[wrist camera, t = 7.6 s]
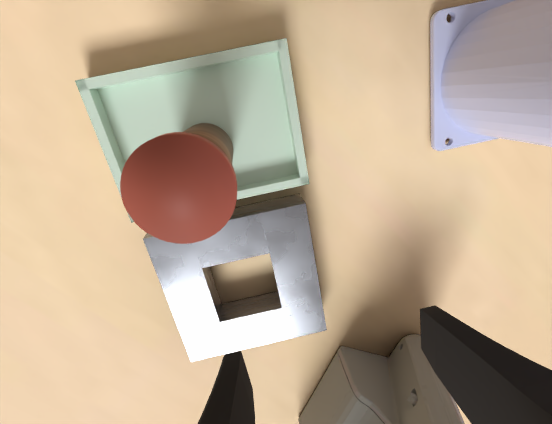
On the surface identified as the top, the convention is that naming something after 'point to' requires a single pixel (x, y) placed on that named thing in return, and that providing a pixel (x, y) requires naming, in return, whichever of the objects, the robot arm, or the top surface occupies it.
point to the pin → (181, 184)
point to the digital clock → (381, 389)
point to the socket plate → (251, 311)
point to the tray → (207, 111)
